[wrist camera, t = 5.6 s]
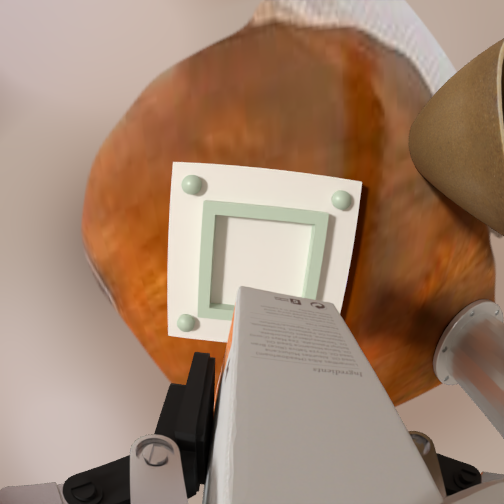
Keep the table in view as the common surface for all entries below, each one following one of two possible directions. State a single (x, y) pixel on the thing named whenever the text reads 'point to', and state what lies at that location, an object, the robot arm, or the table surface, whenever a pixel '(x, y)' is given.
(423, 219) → the table surface
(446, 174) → the plant pot
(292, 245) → the baseplate
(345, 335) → the skincare box
